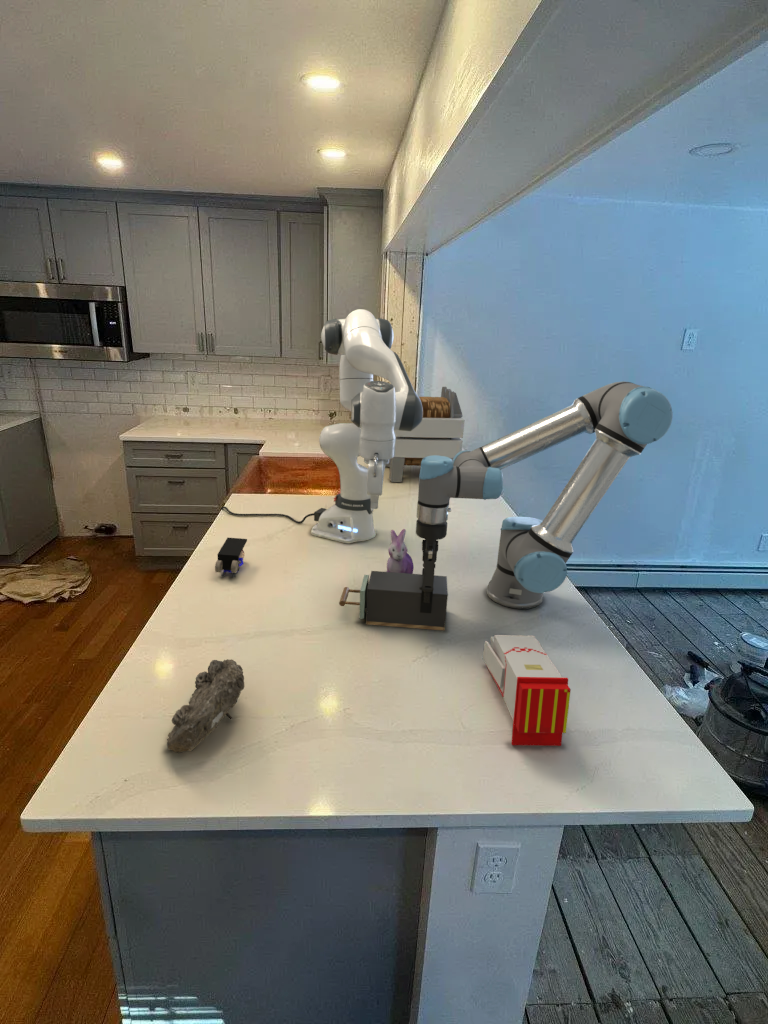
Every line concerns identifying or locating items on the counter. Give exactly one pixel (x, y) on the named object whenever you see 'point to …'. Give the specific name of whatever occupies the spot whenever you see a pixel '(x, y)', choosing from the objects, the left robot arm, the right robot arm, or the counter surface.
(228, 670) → the fossil
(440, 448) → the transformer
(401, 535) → the figurine
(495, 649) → the toy
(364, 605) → the drawer
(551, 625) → the counter surface
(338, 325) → the left robot arm
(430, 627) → the cabinet
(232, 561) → the black wheeled block
